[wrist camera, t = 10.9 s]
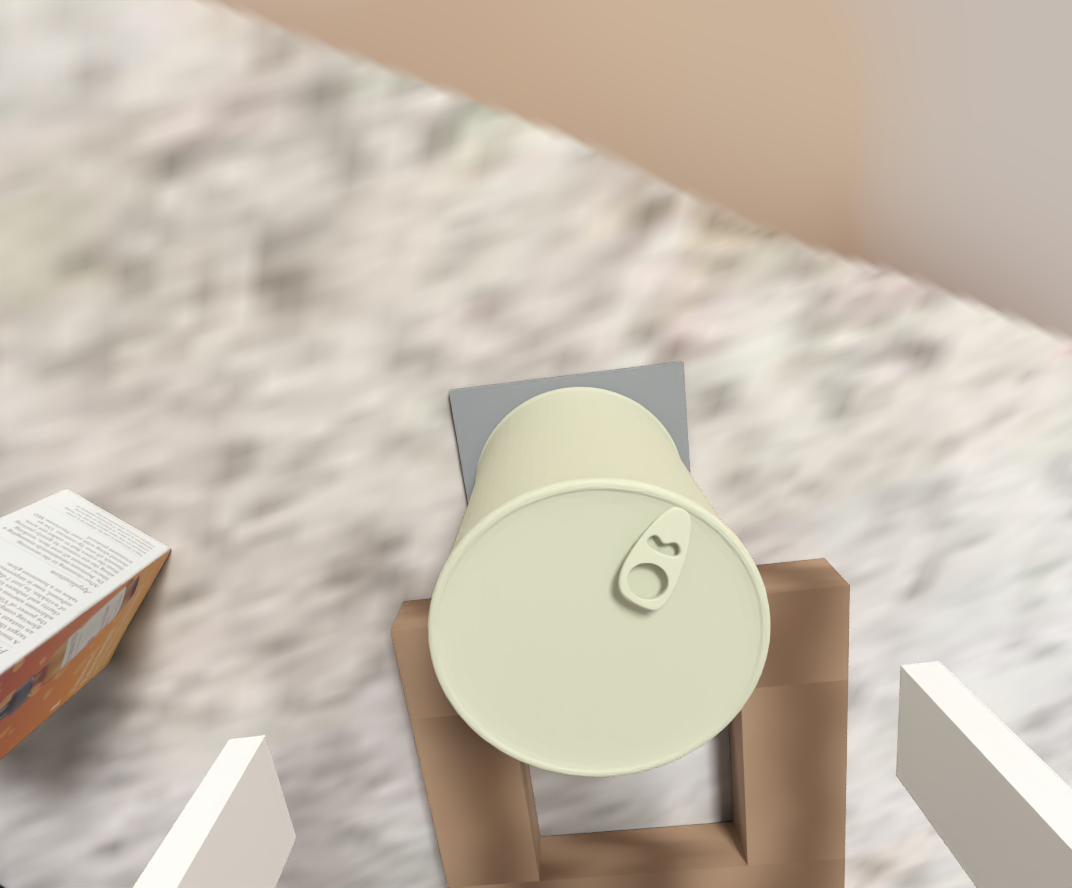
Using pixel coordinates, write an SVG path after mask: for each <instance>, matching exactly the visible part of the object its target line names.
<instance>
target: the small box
mask: <svg viewBox="0 0 1072 888" xmlns="http://www.w3.org/2000/svg"><path fill="white" fill-rule="evenodd" d="M170 551H171V549H170V547H168V546H166V545H164V544H163V543H161V542H159V541H157V540H155V539H154V538H152V537H150V536H148V535H147V534H145V533H143V532H141V531H140V530H138V529H136V528H134V527H133V526H131V525H129V524H127V523H126V522H124V521H122V520H121V519H119V518H117V517H115V516H114V515H112V514H110V513H108V512H107V511H105V510H103V509H102V508H100V507H98V506H96V505H95V504H93V503H91V502H89V501H88V500H86V499H84V498H83V497H81V496H79V495H77V494H76V493H74V492H72V491H71V490H68V489H63V490H61V491H59V492H57V493H55V494H52V495H50V496H48V497H46V498H44V499H41V500H39V501H37V502H35V503H32V504H30V505H28V506H26V507H23V508H21V509H19V510H16V511H14V512H12V513H10V514H8V515H5V516H3V517H1V518H0V760H1V759H2V758H3V757H4V756H5V755H6V754H7V753H9V752H10V751H11V750H12V749H13V748H14V747H15V746H17V745H18V744H19V743H20V742H21V741H22V740H23V739H24V738H26V737H27V736H28V735H29V734H30V733H31V732H32V731H33V730H35V729H36V728H37V727H38V726H39V725H40V724H41V723H42V722H44V721H45V720H46V719H47V718H48V717H49V716H51V715H52V714H53V713H54V712H55V711H56V710H57V709H58V708H60V707H61V706H62V705H63V704H64V703H65V702H66V701H67V700H68V699H70V698H71V697H72V696H73V695H74V694H75V693H76V692H78V691H79V690H80V689H81V688H82V687H83V686H84V685H85V684H86V683H88V682H89V681H90V680H91V679H92V678H93V677H94V676H95V675H97V674H98V673H99V672H100V671H101V670H102V669H103V668H105V667H106V666H107V665H108V663H109V662H110V660H111V658H112V656H113V654H114V652H115V650H116V648H117V646H118V644H119V642H120V640H121V638H122V636H123V634H124V632H125V631H126V629H127V627H128V625H129V623H130V622H131V620H132V618H133V616H134V614H135V613H136V611H137V609H138V608H139V606H140V604H141V602H142V601H143V599H144V597H145V595H146V594H147V592H148V590H149V588H150V587H151V585H152V583H153V581H154V579H155V578H156V576H157V574H158V572H159V571H160V569H161V567H162V565H163V564H164V562H165V560H166V558H167V557H168V555H169V553H170Z"/></svg>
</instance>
